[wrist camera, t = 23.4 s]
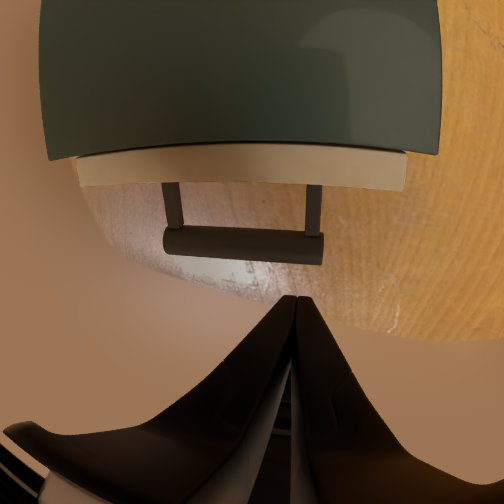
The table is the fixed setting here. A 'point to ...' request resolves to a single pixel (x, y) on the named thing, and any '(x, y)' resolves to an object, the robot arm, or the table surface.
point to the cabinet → (239, 73)
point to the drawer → (247, 170)
